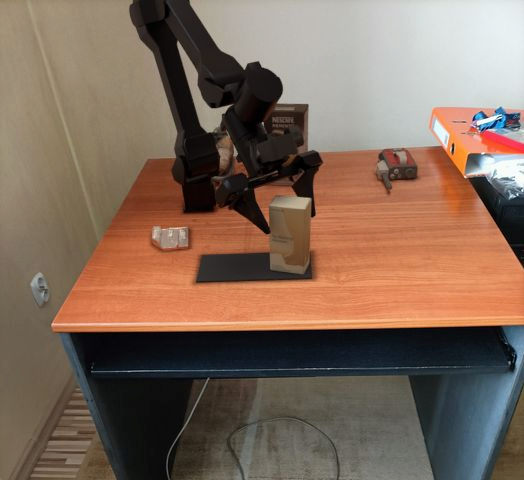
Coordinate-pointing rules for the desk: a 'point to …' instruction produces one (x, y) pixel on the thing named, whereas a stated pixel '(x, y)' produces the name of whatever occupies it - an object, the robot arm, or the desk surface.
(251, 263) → the mat
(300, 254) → the cosmetic box
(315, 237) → the desk surface
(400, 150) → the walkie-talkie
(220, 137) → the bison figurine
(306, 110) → the coffee box
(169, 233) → the stamped metal plate
